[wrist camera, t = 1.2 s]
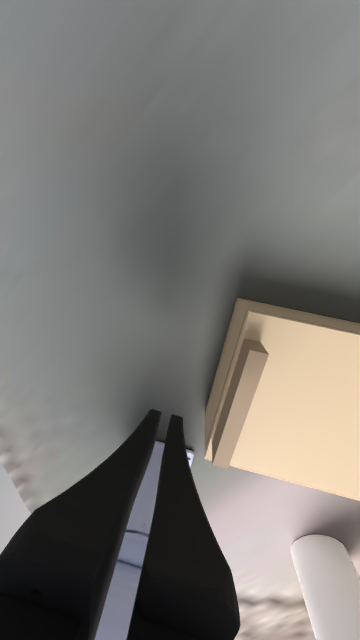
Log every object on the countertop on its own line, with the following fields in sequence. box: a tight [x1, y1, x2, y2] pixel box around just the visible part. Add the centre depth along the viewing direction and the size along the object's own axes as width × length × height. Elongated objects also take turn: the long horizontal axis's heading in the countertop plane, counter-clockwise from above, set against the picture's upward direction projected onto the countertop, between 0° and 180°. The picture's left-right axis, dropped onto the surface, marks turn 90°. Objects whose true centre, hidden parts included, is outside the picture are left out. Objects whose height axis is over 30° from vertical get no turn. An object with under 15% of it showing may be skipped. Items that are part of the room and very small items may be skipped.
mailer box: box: [205, 298, 360, 450], centre depth 18 cm, size 14×16×5 cm
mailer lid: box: [204, 310, 360, 501], centre depth 15 cm, size 14×16×3 cm
